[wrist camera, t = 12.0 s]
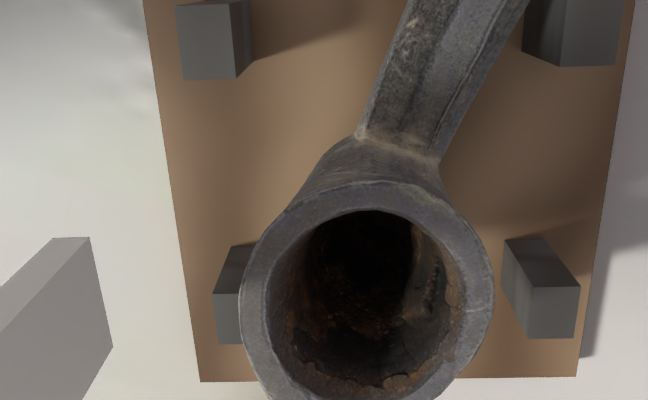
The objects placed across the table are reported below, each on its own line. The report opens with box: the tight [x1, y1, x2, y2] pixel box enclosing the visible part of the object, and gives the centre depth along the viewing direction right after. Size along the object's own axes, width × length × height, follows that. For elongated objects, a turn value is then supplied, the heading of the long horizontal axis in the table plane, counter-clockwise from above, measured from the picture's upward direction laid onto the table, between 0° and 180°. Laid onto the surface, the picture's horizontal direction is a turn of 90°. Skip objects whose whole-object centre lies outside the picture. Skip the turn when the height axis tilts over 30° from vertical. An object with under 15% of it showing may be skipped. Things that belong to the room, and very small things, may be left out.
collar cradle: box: [143, 0, 635, 382], centre depth 19 cm, size 16×20×4 cm
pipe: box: [238, 0, 530, 400], centre depth 16 cm, size 6×13×8 cm, turn 159°
